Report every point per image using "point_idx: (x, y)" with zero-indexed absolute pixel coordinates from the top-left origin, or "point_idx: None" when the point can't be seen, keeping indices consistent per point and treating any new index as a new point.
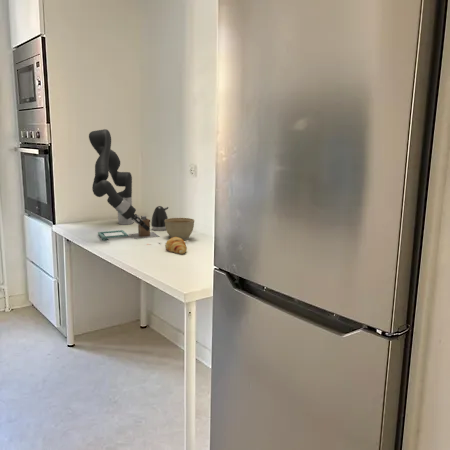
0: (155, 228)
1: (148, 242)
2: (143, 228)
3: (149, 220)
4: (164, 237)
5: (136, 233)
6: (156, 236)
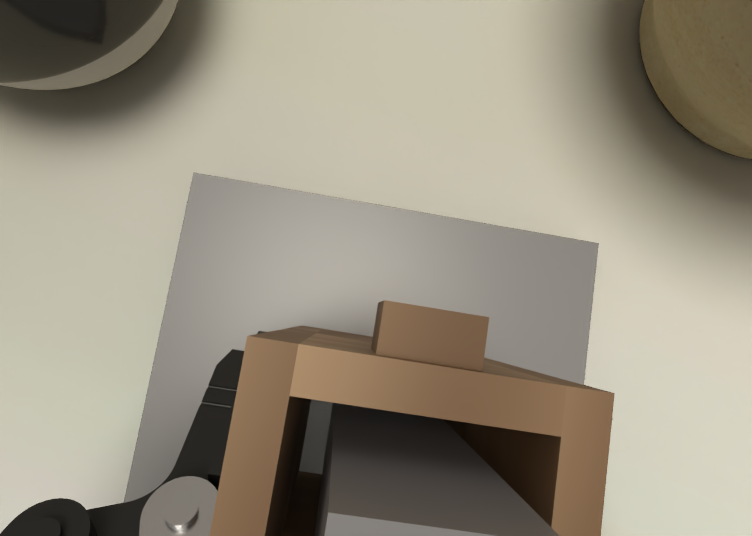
0: (99, 70)
1: (714, 495)
2: None
3: (603, 397)
4: (528, 154)
5: (142, 479)
6: (559, 284)
